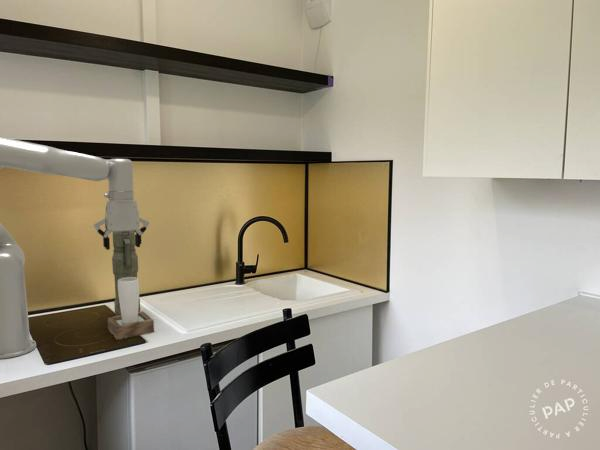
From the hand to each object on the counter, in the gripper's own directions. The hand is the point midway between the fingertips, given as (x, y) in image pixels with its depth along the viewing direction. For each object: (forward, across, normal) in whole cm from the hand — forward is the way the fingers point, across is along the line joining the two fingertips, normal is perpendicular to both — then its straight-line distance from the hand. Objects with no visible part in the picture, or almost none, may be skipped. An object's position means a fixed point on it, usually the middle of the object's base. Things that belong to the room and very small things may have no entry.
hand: (122, 247), depth 147 cm
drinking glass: (+26, +2, 0) cm, 26 cm away
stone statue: (+29, +5, +15) cm, 33 cm away
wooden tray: (+29, +2, 0) cm, 29 cm away
